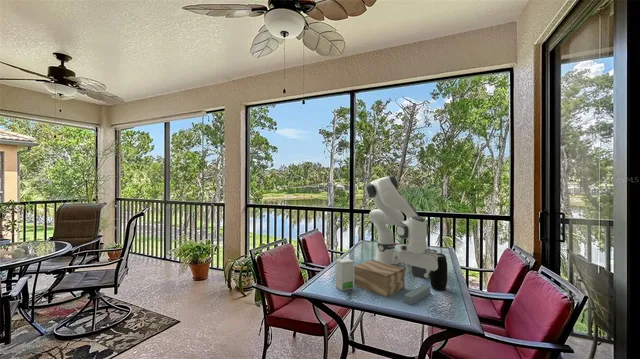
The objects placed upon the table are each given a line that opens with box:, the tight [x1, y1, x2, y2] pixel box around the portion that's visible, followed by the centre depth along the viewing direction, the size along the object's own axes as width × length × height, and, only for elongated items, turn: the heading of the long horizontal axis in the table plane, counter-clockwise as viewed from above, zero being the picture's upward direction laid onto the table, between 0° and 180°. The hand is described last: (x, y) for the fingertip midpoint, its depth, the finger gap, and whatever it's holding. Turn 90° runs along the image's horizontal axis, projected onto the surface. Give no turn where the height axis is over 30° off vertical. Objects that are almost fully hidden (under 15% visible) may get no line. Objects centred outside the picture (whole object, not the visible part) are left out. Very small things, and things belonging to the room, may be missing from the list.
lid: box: [354, 259, 406, 278], centre depth 154 cm, size 18×22×1 cm
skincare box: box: [335, 258, 355, 291], centre depth 152 cm, size 8×7×16 cm
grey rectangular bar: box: [403, 284, 431, 306], centre depth 140 cm, size 20×4×4 cm, turn 133°
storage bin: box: [410, 248, 439, 279], centre depth 176 cm, size 21×16×14 cm
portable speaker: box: [429, 252, 448, 291], centre depth 152 cm, size 8×9×19 cm
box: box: [353, 268, 406, 298], centre depth 154 cm, size 18×22×10 cm
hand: (417, 274), depth 140 cm, fingers open, 8 cm apart
